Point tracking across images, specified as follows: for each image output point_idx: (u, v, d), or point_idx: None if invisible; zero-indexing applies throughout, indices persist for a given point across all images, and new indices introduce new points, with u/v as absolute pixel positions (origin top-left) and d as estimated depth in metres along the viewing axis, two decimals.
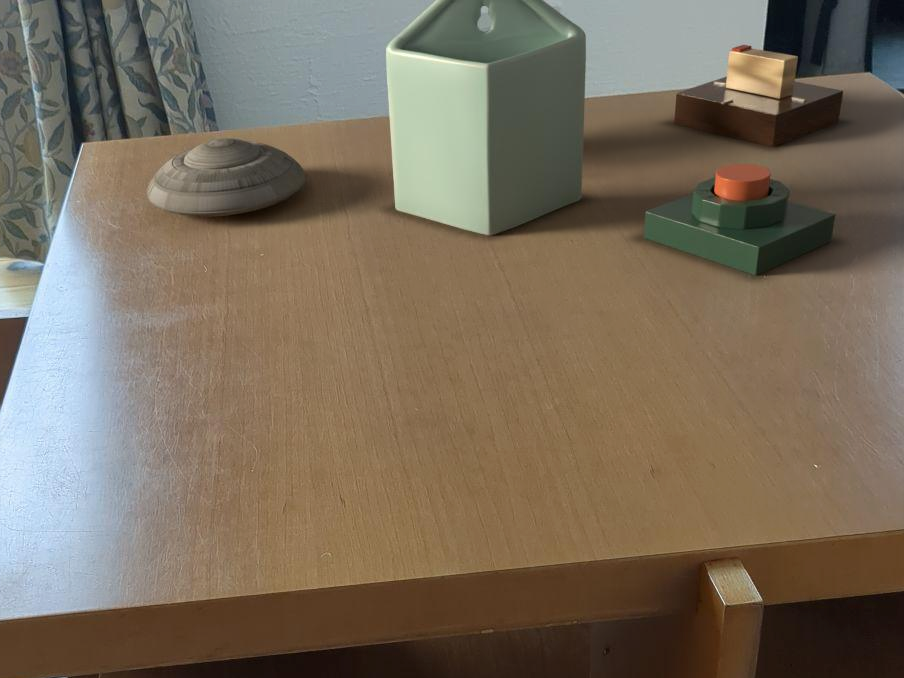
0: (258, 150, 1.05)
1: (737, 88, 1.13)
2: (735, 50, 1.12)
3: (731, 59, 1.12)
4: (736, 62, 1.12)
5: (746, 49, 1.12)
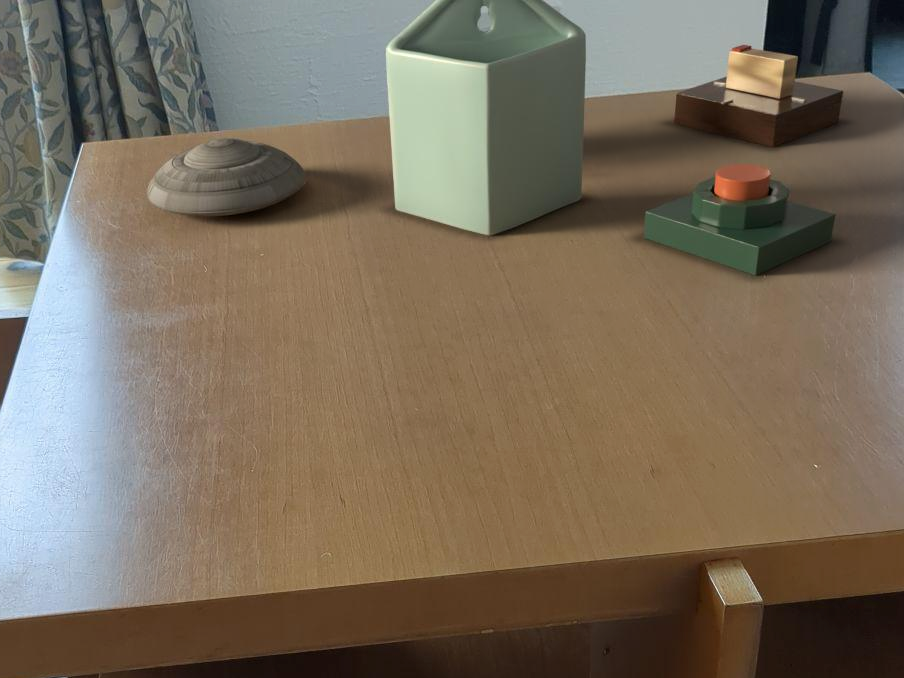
0: (258, 150, 1.05)
1: (737, 88, 1.13)
2: (735, 50, 1.12)
3: (731, 59, 1.12)
4: (736, 62, 1.12)
5: (746, 49, 1.12)
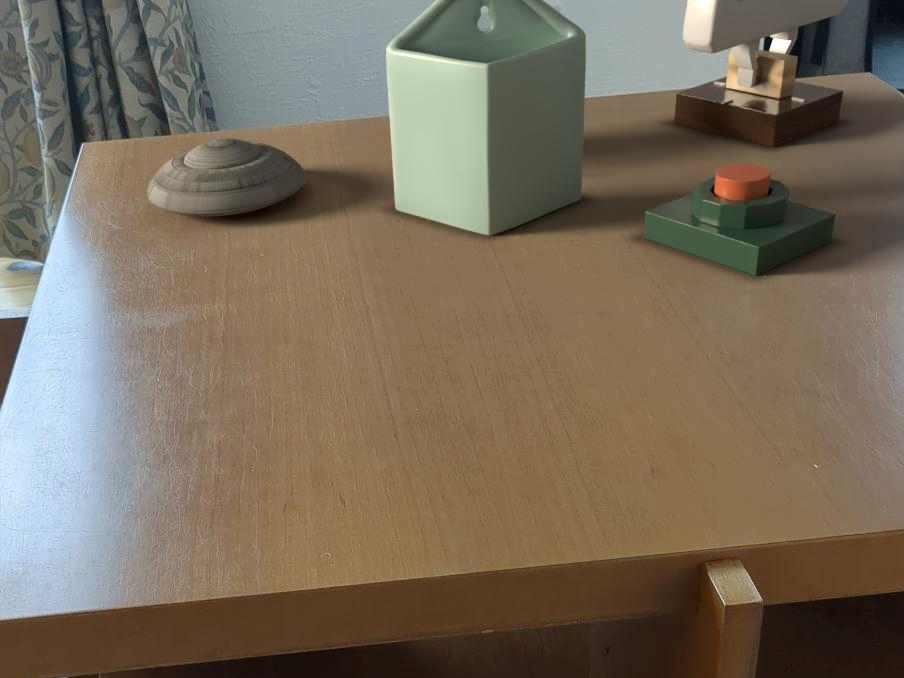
0: (258, 150, 1.05)
1: (737, 88, 1.13)
2: None
3: (731, 59, 1.12)
4: None
5: None
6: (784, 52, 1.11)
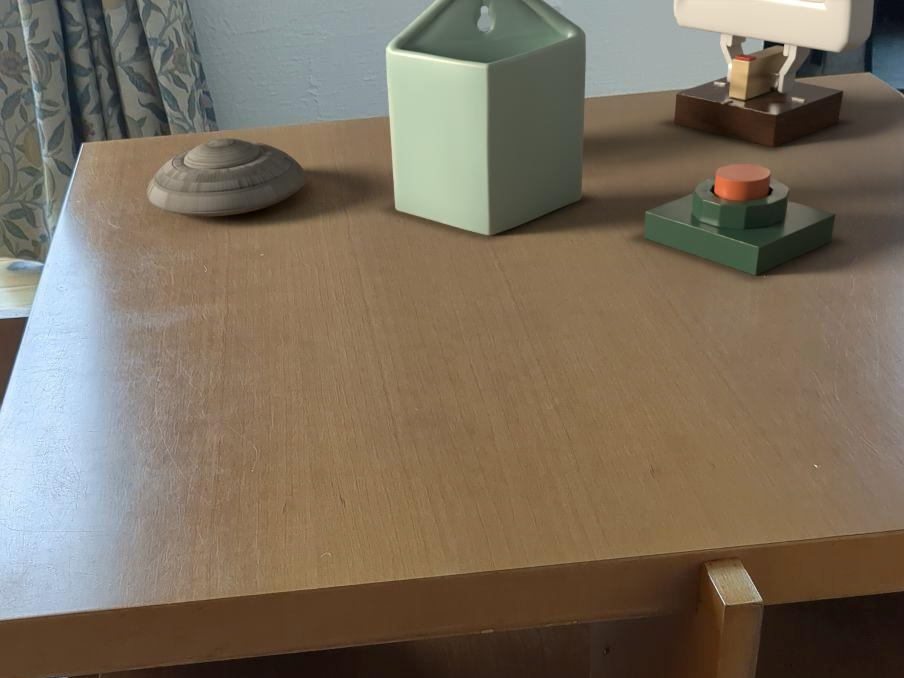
0: (258, 150, 1.05)
1: (755, 95, 1.11)
2: (753, 59, 1.09)
3: (751, 69, 1.09)
4: (755, 70, 1.09)
5: None
6: None
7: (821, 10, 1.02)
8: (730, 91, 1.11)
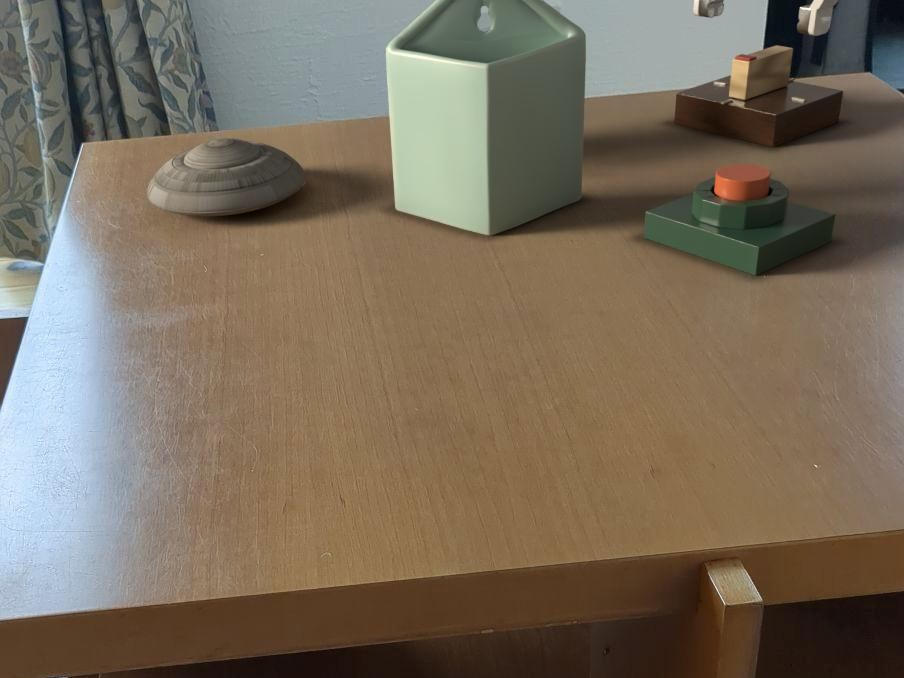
0: (258, 150, 1.05)
1: (755, 95, 1.11)
2: (753, 59, 1.09)
3: (751, 69, 1.09)
4: (755, 70, 1.09)
5: None
6: None
7: None
8: (730, 91, 1.11)
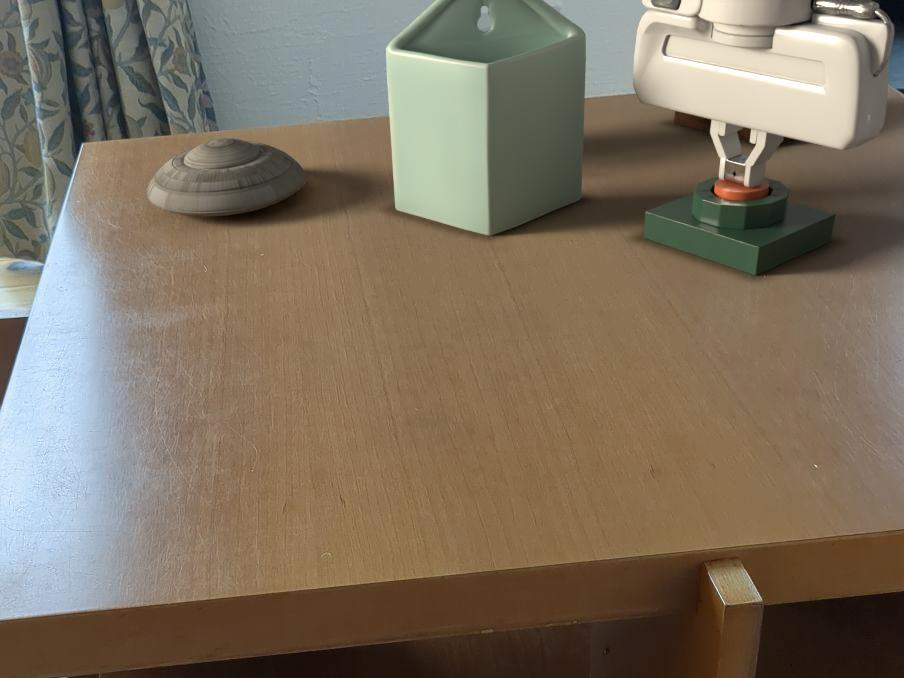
0: (258, 150, 1.05)
1: None
2: None
3: None
4: None
5: None
6: (739, 145, 0.88)
7: (819, 95, 0.78)
8: None
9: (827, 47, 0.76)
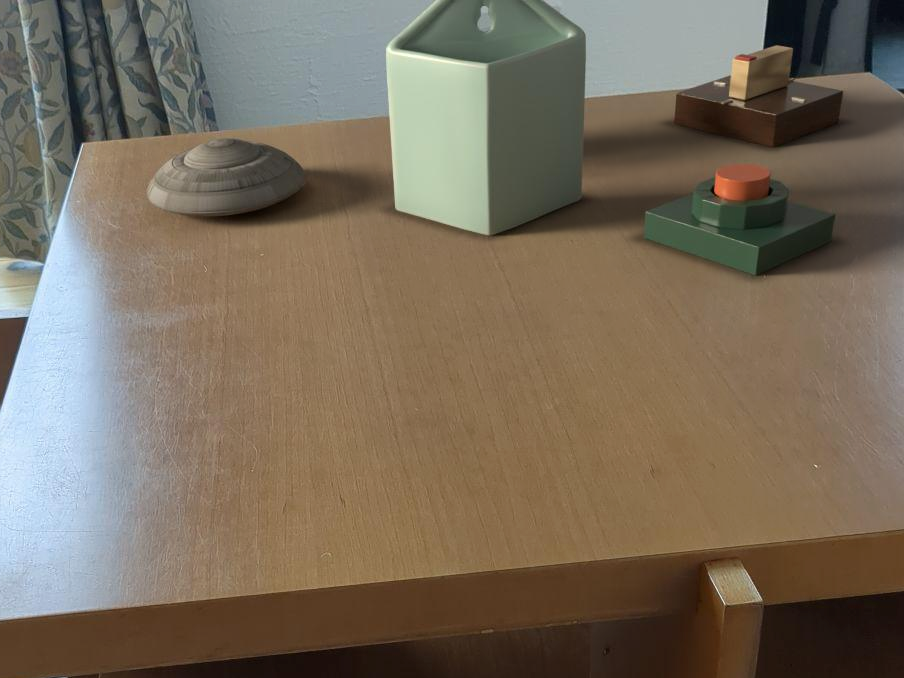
0: (258, 150, 1.05)
1: (755, 95, 1.11)
2: (753, 59, 1.09)
3: (751, 69, 1.09)
4: (755, 70, 1.09)
5: None
6: None
7: None
8: (730, 91, 1.11)
9: None
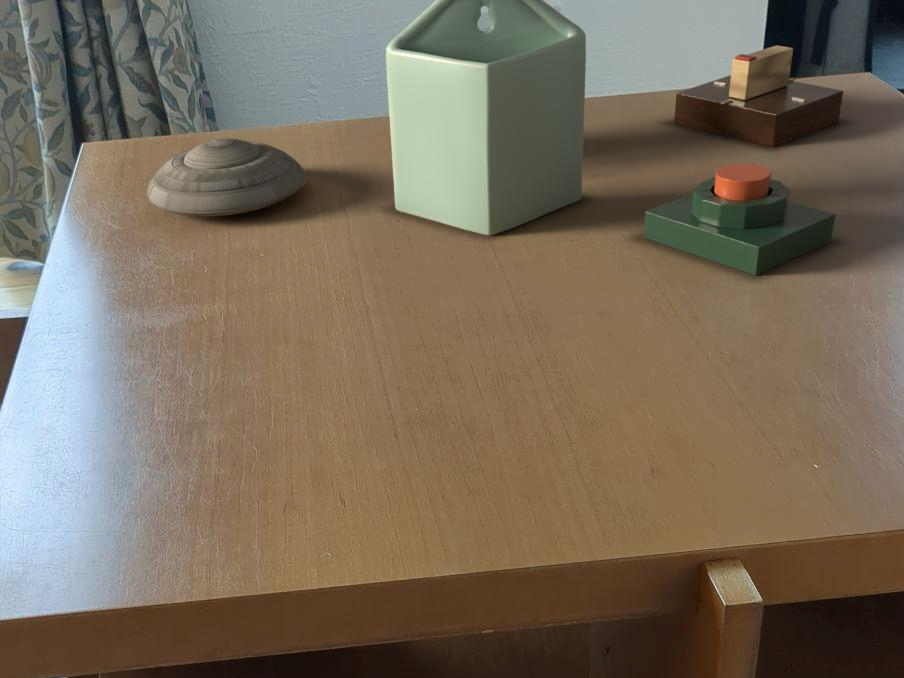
0: (258, 150, 1.05)
1: (755, 95, 1.11)
2: (753, 59, 1.09)
3: (751, 69, 1.09)
4: (755, 70, 1.09)
5: None
6: None
7: None
8: (730, 91, 1.11)
9: None
